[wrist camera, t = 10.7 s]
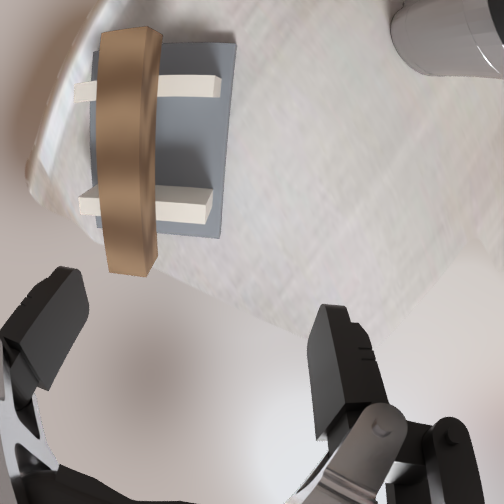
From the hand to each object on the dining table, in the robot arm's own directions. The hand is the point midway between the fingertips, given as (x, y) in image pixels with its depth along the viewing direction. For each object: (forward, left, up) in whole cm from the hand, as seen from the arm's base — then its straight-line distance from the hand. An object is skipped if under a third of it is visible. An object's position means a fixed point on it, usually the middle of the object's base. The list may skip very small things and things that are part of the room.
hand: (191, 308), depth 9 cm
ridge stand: (-1, -9, -25) cm, 27 cm away
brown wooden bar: (-1, -9, -19) cm, 21 cm away
